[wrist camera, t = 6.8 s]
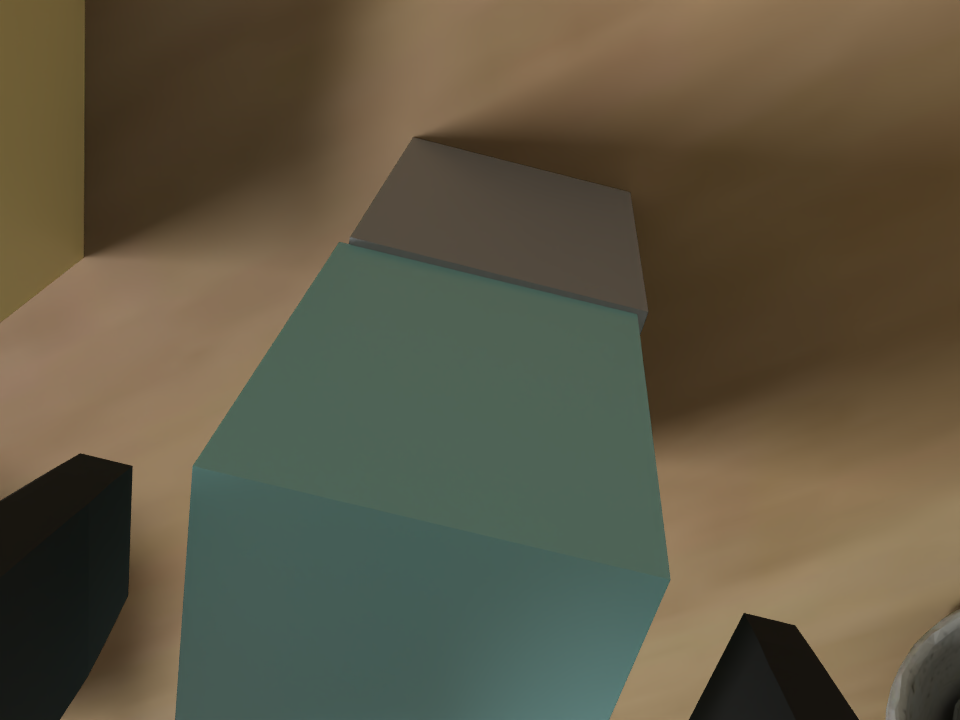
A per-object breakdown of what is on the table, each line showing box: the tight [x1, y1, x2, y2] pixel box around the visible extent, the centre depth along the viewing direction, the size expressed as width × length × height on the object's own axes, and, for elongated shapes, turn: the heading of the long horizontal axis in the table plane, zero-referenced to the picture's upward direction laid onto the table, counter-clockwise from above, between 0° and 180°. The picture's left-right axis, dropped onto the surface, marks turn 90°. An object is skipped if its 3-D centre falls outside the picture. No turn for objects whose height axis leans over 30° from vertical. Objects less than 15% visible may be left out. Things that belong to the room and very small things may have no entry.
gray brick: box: [349, 137, 648, 334], centre depth 15 cm, size 6×4×5 cm, turn 167°
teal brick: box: [175, 242, 670, 720], centre depth 11 cm, size 6×4×5 cm, turn 168°
